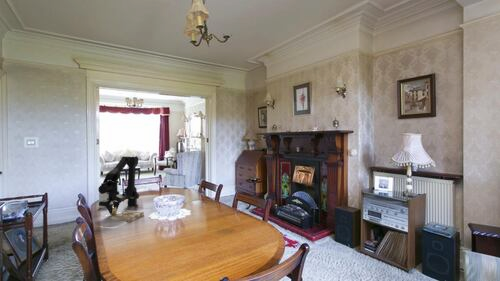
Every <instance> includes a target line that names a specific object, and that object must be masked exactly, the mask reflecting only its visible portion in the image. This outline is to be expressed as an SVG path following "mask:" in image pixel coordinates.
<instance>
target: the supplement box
mask: <svg viewBox="0 0 500 281" xmlns="http://www.w3.org/2000/svg"><path fill="white" fill-rule="evenodd" d="M107 198H108V194H107V193H104V194H101V193H100V192H99V191H98V203H99V202H100V201H103V200H107ZM112 204H113V202H112ZM98 206H99V205H98ZM101 208H102V209H103V208H105V209H106V207H105V206H99V209H101Z"/></svg>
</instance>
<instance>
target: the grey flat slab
mask: <svg viewBox="0 0 500 281" xmlns="http://www.w3.org/2000/svg"><path fill="white" fill-rule="evenodd" d="M119 213H122V212H120V211H119V212H118V211H117V214H119ZM117 214H116V215H117ZM112 216H114V215H110V213H108V214H106V215H104V217H112Z"/></svg>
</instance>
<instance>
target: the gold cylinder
mask: <svg viewBox="0 0 500 281" xmlns="http://www.w3.org/2000/svg"><path fill="white" fill-rule="evenodd" d="M117 212H118V209H117V207H116V206H114V205H113V206H112V214H110V213H109V214H110V215H116V214H117Z"/></svg>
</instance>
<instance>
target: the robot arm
mask: <svg viewBox="0 0 500 281" xmlns="http://www.w3.org/2000/svg"><path fill="white" fill-rule="evenodd" d="M139 160H140V159H139V157H138V156H137V155H128V156H125V155H123V156H121V158H120V160H119V161H118V163H117V164H116V165H115V167H114V168H113V169H111V170H109V171H108V172H107V173H106V175H105V177H104V179H103V182H101V183H100V184H101V185H100V186H99V187H98V193H99V192H100V193H101V194H104V193H107V194H108V198H107V200H103V201H100V202H99V201H98V206H105V209H106V210H107V211H108V214H112V207H113V206H116V207H117V210H119V206H120V204H121V203H123V202H124V201H126V200H127V207H129V208H132V207H138V206H139V204H138V199H140V194H139V193H138V192H137V190H138V189H137V187H136V185H135V183H136V167H137V166H138V164H139ZM126 165H127V167H128V171H127V172H128V173H127V174H128V175H127V186H126V187H125V188H124V190H123V191H124V193H120V191H119V190H118V188H119V187H118V184H120V181H119V179H120V177H121V173H122V171H123V169H124V168H125V166H126ZM112 202H113V204H112Z"/></svg>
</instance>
